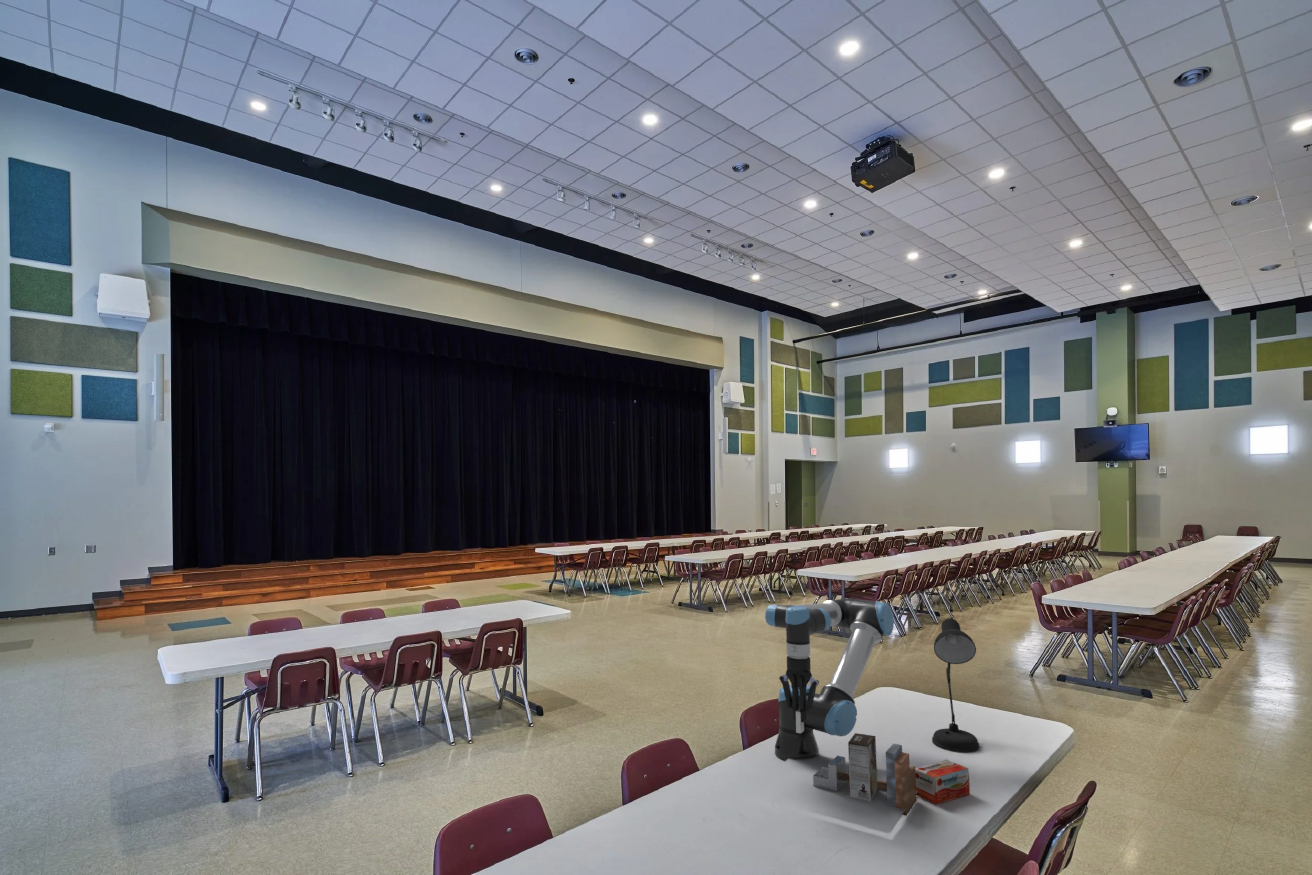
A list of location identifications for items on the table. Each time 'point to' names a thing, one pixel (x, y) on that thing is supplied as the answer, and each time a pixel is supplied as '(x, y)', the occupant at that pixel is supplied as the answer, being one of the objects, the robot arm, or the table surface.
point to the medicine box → (942, 781)
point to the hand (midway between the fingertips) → (800, 731)
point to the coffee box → (862, 766)
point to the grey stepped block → (831, 775)
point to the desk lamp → (952, 650)
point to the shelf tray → (905, 789)
